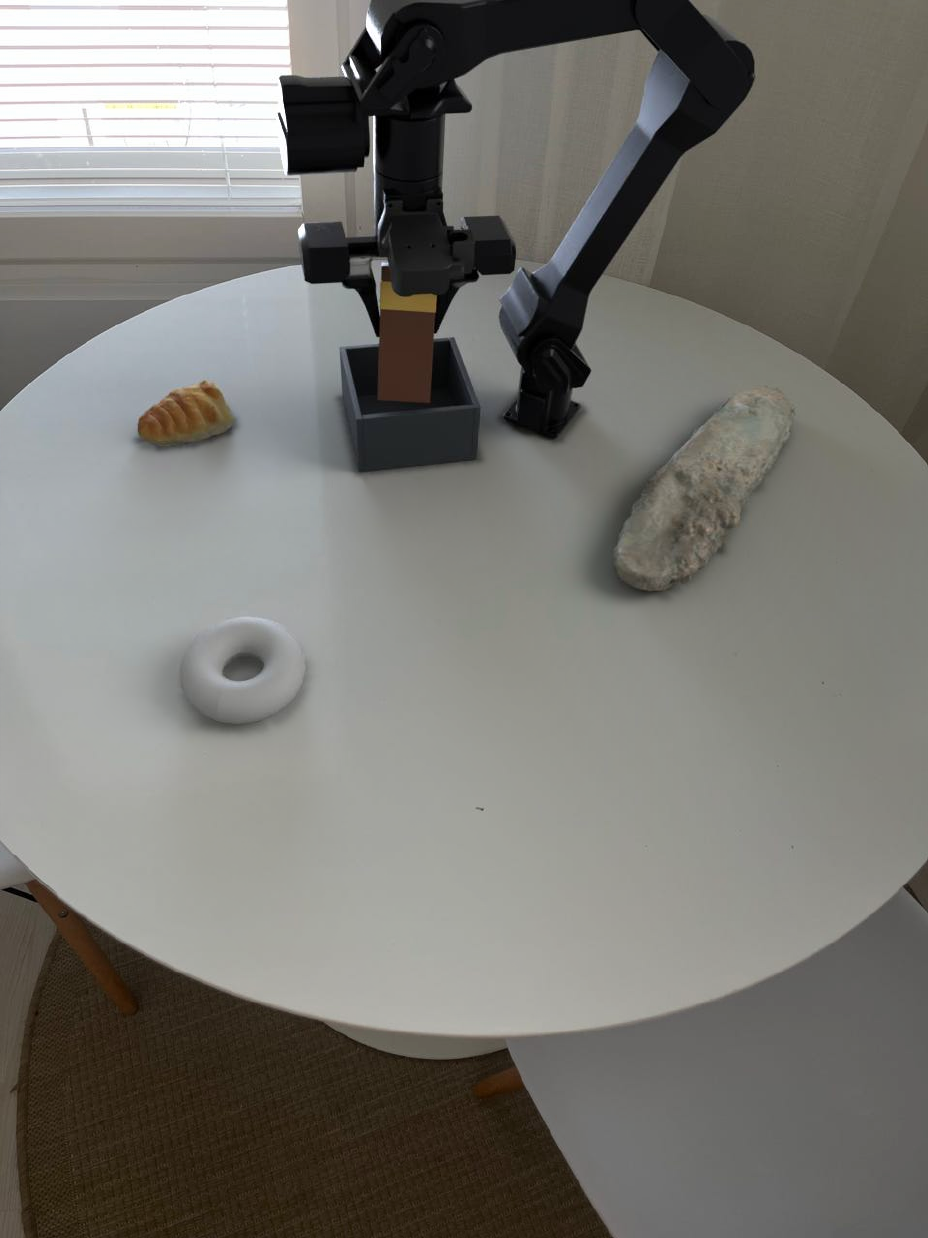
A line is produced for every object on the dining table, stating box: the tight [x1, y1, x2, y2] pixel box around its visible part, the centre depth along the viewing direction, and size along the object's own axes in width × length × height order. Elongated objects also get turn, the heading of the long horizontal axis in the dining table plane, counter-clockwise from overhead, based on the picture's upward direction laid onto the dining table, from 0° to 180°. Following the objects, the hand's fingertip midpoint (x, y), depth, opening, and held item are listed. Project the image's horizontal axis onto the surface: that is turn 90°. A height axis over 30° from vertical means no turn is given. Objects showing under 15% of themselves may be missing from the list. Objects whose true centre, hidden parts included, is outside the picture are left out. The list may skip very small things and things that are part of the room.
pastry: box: [137, 379, 235, 447], centre depth 93 cm, size 9×7×4 cm
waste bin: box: [338, 336, 482, 473], centre depth 94 cm, size 12×12×7 cm
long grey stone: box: [613, 385, 796, 592], centre depth 91 cm, size 35×5×10 cm
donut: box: [179, 615, 307, 725], centre depth 73 cm, size 10×4×10 cm
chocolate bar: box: [377, 261, 437, 403], centre depth 85 cm, size 3×5×12 cm, turn 93°
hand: (405, 333), depth 87 cm, fingers closed on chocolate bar, 5 cm apart
